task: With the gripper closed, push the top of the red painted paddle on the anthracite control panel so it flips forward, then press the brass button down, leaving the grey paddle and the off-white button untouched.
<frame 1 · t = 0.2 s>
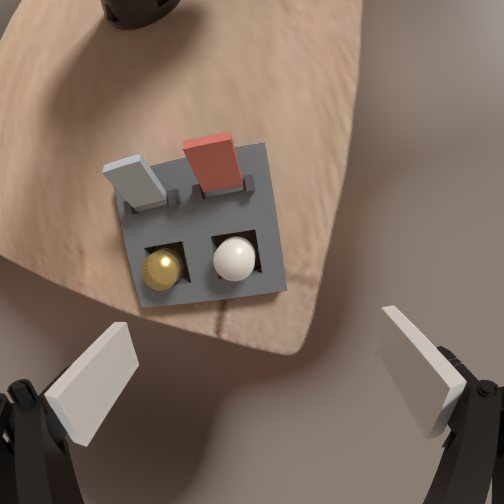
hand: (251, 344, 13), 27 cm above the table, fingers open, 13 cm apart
paddle red: (216, 168, 30), point 7 cm above the table, hinge at -35.1°
button white: (235, 258, 35), point 5 cm above the table, slide at 0.0 cm
paddle grey: (138, 186, 31), point 7 cm above the table, hinge at -35.1°
button brass: (162, 268, 36), point 5 cm above the table, slide at 0.0 cm
panel: (199, 228, 39), on the table
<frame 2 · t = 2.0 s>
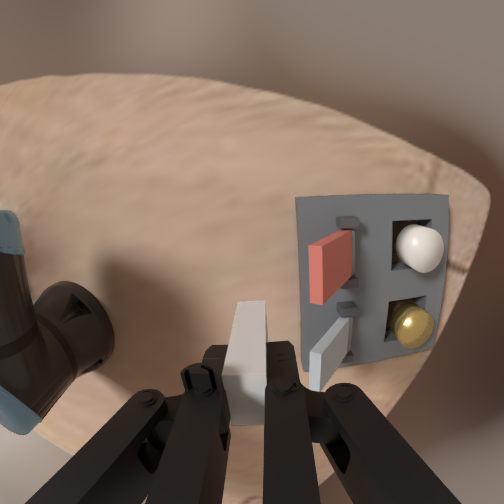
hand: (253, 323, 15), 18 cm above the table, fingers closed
paddle red: (335, 261, 26), point 7 cm above the table, hinge at -35.1°
button white: (419, 247, 28), point 5 cm above the table, slide at 0.0 cm
paddle grey: (333, 349, 28), point 7 cm above the table, hinge at -35.1°
button brass: (411, 325, 30), point 5 cm above the table, slide at 0.0 cm
panel: (374, 279, 33), on the table
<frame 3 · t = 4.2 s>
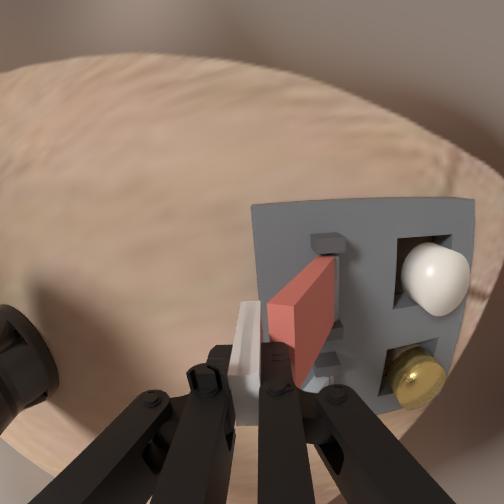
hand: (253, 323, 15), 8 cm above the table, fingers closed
paddle red: (312, 311, 16), point 7 cm above the table, hinge at -26.4°, touching gripper
button white: (435, 277, 18), point 5 cm above the table, slide at 0.0 cm
paddle grey: (302, 421, 18), point 7 cm above the table, hinge at -35.1°
button brass: (416, 378, 20), point 5 cm above the table, slide at 0.0 cm
panel: (368, 317, 24), on the table
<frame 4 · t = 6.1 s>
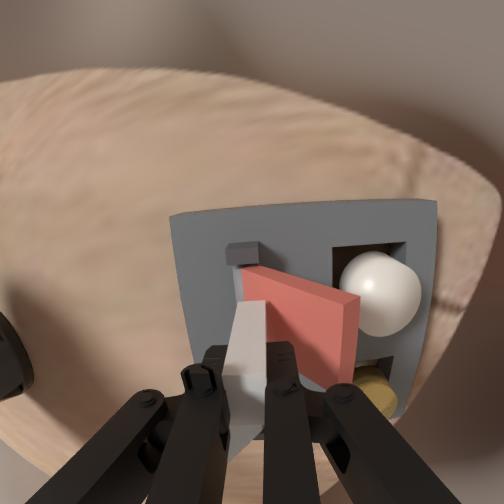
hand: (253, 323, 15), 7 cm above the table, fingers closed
paddle red: (284, 319, 15), point 7 cm above the table, hinge at 35.1°
button white: (379, 292, 17), point 5 cm above the table, slide at 0.0 cm
paddle grey: (228, 433, 18), point 7 cm above the table, hinge at -35.1°
button brass: (364, 399, 19), point 5 cm above the table, slide at 0.0 cm
panel: (312, 330, 23), on the table
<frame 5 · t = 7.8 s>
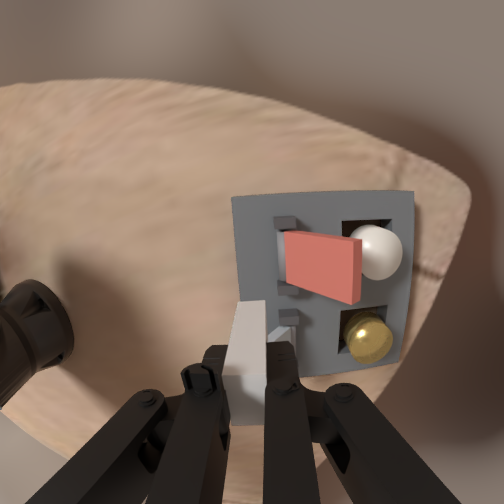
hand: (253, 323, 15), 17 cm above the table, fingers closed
paddle red: (314, 262, 24), point 7 cm above the table, hinge at 35.1°
button white: (374, 251, 26), point 5 cm above the table, slide at 0.0 cm
paddle grey: (269, 360, 26), point 7 cm above the table, hinge at -35.1°
button brass: (367, 337, 28), point 5 cm above the table, slide at 0.0 cm
panel: (326, 285, 32), on the table
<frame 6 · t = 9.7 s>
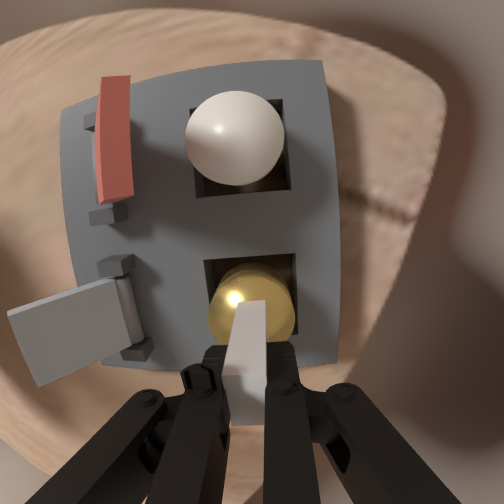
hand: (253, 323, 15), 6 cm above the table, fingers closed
paddle red: (107, 156, 13), point 7 cm above the table, hinge at 35.1°
button white: (236, 141, 15), point 5 cm above the table, slide at 0.0 cm
paddle grey: (79, 328, 15), point 7 cm above the table, hinge at -35.1°
button brass: (252, 307, 17), point 4 cm above the table, slide at 0.4 cm, touching gripper
panel: (195, 224, 20), on the table
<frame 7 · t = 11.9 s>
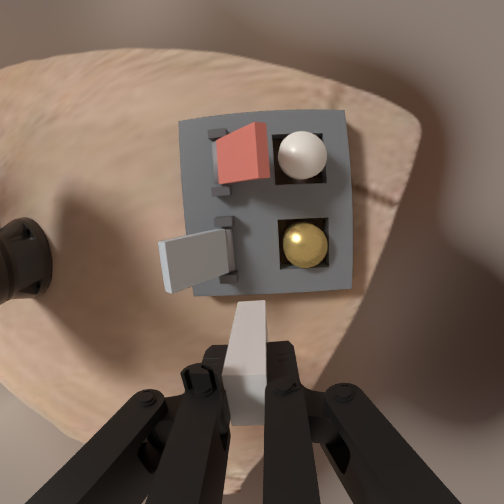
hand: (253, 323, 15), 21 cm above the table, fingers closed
paddle red: (236, 157, 27), point 7 cm above the table, hinge at 35.1°
button white: (301, 156, 28), point 5 cm above the table, slide at 0.0 cm
paddle grey: (201, 257, 29), point 7 cm above the table, hinge at -35.1°
button brass: (304, 243, 32), point 3 cm above the table, slide at 2.0 cm
panel: (268, 201, 34), on the table
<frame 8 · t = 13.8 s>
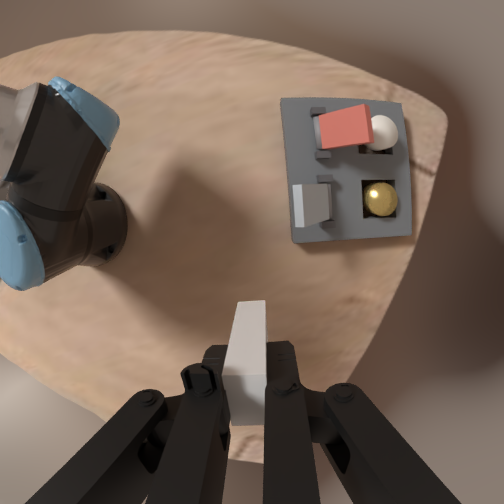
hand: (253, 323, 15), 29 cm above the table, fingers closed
paddle red: (341, 128, 33), point 7 cm above the table, hinge at 35.1°
button white: (378, 133, 35), point 5 cm above the table, slide at 0.0 cm
paddle grey: (315, 203, 35), point 7 cm above the table, hinge at -35.1°
button brass: (379, 198, 39), point 3 cm above the table, slide at 2.0 cm
panel: (348, 167, 41), on the table
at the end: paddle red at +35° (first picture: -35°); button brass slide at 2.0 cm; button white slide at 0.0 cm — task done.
